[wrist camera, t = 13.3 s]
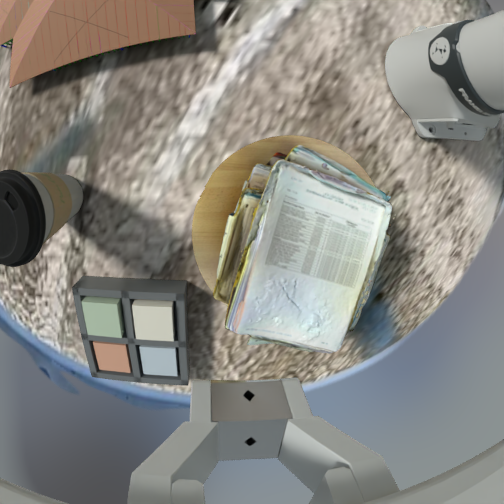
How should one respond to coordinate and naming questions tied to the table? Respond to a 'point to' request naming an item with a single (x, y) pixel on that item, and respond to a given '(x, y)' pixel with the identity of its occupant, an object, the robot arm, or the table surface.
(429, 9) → the table surface
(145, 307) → the key cream
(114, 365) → the key terracotta
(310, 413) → the robot arm
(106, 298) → the key sage
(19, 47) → the house
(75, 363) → the table surface
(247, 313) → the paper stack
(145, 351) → the key bluegrey
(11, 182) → the coffee cup
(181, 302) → the keypad
